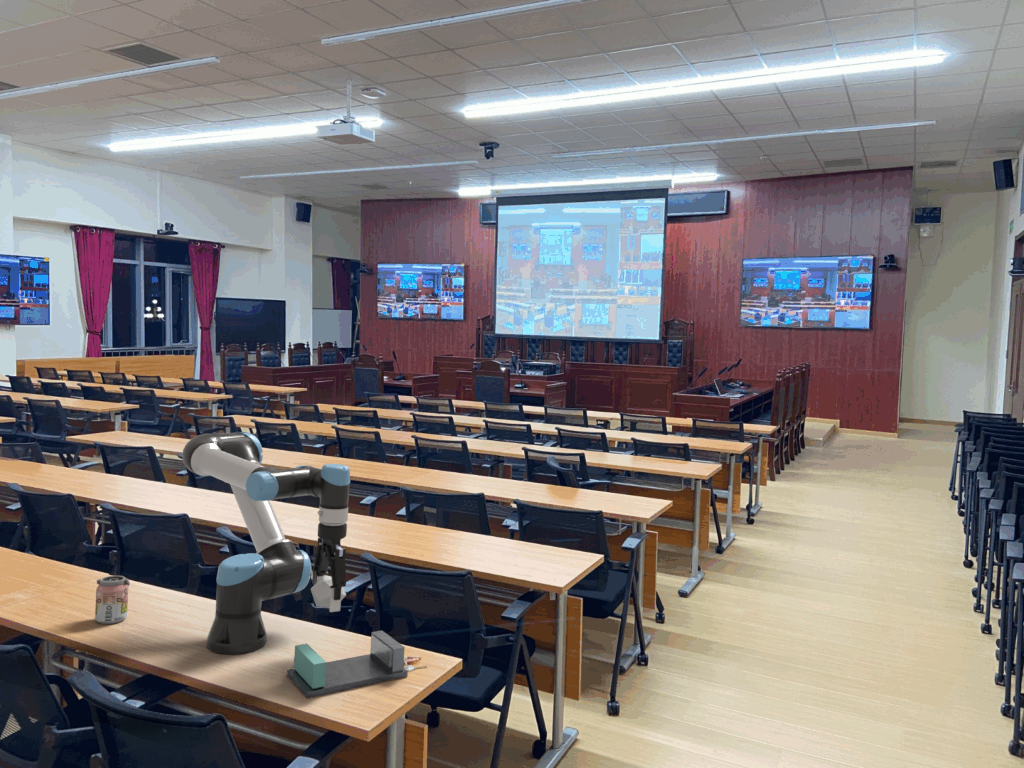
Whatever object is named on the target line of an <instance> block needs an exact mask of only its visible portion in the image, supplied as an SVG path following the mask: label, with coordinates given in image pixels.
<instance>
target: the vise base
mask: <svg viewBox="0 0 1024 768" xmlns="http://www.w3.org/2000/svg"><path fill="white" fill-rule="evenodd" d="M370 637H371V638H370V653H368V654H364V655H358V656H357V655H356V656H353V657H349V658H348V657H347V658H342V659H338V660H333V661H332V660H331V661H326V679H325V686H323V687H319V688H314V689H313V688H312V687H311V686H310V685H309V684H308V683H307V682H306V681H305V680H304V679H303V678H302V677H301V676H300V674H299V673H298V672H297V671H296V670H295V669H294V668H290V669H287V670H286V677H287V678H288V680H290V682H291V683H293V685H294V686H295V687H296V688H297V689H298V690H299V691H300V693H301V694H302V695H303V696H304V697H305V698H306V699H311V698H316V697H320V696H321V697H322V696H324V695H329V694H334V693H338V692H342V691H343V692H344V691H349V690H353V689H356V688H363V687H366V686H371V685H374V684H380V683H384V682H388V681H394V680H398V679H399V680H400V679H402V678H407V677H408V675H409V673H408V671H409V670H408V669H406V668H405V667H404V666H405V664H404V663H405V662H404V661H405V646H404V645H403V644H401V643H400V642H398V641H397V640H396V639H394V638H393V637H392V636H391V635H389V634H388V633H387V632H385V631H383V630H377V631H371V636H370Z"/></svg>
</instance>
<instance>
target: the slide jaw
mask: <svg viewBox="0 0 1024 768" xmlns="http://www.w3.org/2000/svg"><path fill="white" fill-rule="evenodd" d="M293 657H294V659H293V669H295V670H296V671H297V672H298V673H299V674H300V676H301V677H302V678H303V679H304V680H305V681H306V682H307V683H308V684H309V685H310V686H311V687H312V688H313V689H314V688H319V687H323V686H325V679H326V662H327V661H326V660H325V658H323V657H322V656H321V655H320V654H319V653H318V652H316V650H314V649H313V648H312V647H311V646H310V644H308V643H303V644H302V643H301V644H296V645H294V655H293Z"/></svg>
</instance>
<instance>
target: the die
mask: <svg viewBox="0 0 1024 768" xmlns="http://www.w3.org/2000/svg"><path fill="white" fill-rule="evenodd" d="M326 575H327V574H326ZM326 575H323V576H322V577H321V578H320V579H319V581H318V582H317V581H316V583H314V584H313V586H311V588H310V592H311V594H312V598H313V601H314V604H315V607H319V608H323V609H328V610H329V609H330V593H331V588H330V586H332V577H331V575H327V576H326ZM346 596H347V593H346V590H345V588H344V587H342V590H341V601H343V599H344V598H346Z"/></svg>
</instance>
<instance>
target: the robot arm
mask: <svg viewBox="0 0 1024 768" xmlns="http://www.w3.org/2000/svg"><path fill="white" fill-rule="evenodd" d="M181 453H182V455H181V456H182V458H181V459H182V462H183V465H184V466H185V468H186V469H187V470H189V471H190V472H191V473H193V474H195V475H198V476H201V477H207V476H210V477H213V478H215V479H217V480H220V481H223V482H224V483H227V484H229V485H230V488H231V491H232V493H233V496H234V498H235V500H236V503H237V505H238V509H239V510H240V513H241V516H242V519H243V521H244V523H245V526H246V528H247V531H248V533H249V536H250V539H251V541H252V543H253V546H254V548H255V550H256V552H255V553H252V552H251V553H250V552H249V553H248V552H247V553H240V554H236V555H231V556H229V557H227V558H226V559H224V560H222V561H221V562H220V563H219V565H218V569H217V574H216V578H215V580H216V594H215V598H216V599H215V613H214V614H215V615H214V619H213V621H212V625H211V627H210V630H209V632H208V635H207V638H206V640H207V641H206V647H207V649H208V650H209V651H211V652H213V653H218V654H223V655H238V654H239V655H240V654H246V653H250V652H254V651H257V650H259V649H261V648H263V647H265V645H266V643H267V630H266V627H265V624H264V621H263V617H262V603H263V602H262V601H267V600H272V599H276V598H280V597H283V596H289V595H293V594H295V593H298V592H301V591H303V590H304V589H306V587H307V585H308V584H309V582H310V579H311V574H312V564H311V563H312V562H311V559H310V556H309V554H308V553H307V552H306V551H304V550H303V549H296V547H295V544H294V542H293V540H290V539H287V538H286V537H285V535H284V532H283V529H282V527H281V525H280V523H279V520H278V517H277V516H276V515H277V514H276V512H275V510H274V509H273V506H272V503H271V501H273V500H279V499H287V498H295V497H305V496H312V497H316V498H319V504H318V506H319V507H318V508H319V510H318V511H317V515H318V521H319V523H318V524H317V547H316V553H315V559H314V566H313V571H314V572H315V575H316V583H317V582H318V581H319V579H320V578H321V577H322V576H323V575H326V576H328V575H329V572H328V568H329V567H330V576H331V577H332V586H330V588H331V593H330V609H329V608H328V610H329V611H328V612H330V613H334V612H341V607H342V604H341V603H342V600H341V590H342V587H346V586H347V577H346V576H347V575H346V573H347V571H346V555H347V554H346V551H347V550H346V548H345V547H343V548H342V545H341V540H342V539H345V538H346V537H347V531H348V524H347V522H348V518H349V516H348V515H349V501H350V500H349V499H350V498H349V497H350V484H351V470H350V469H351V468H350V467H349V466H348V465H346V464H340V463H327V464H324V465H322V467H321V468H319V467H315V466H312V465H300V464H299V465H298V466H296V467H294V468H289V469H288V468H287V469H272V468H269V467H266V466H264V465H261V463H262V462H263V456H264V454H262V453H263V447H262V444H261V442H260V440H259V438H258V437H257V436H255V435H254V434H252V433H249V432H242V431H235V432H221V433H217V432H216V433H202V434H199V435H196V436H193V437H192V438H191V439H189V441H188V442H187V443H186V444H185V445H184V447H183V449H182V452H181Z"/></svg>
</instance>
